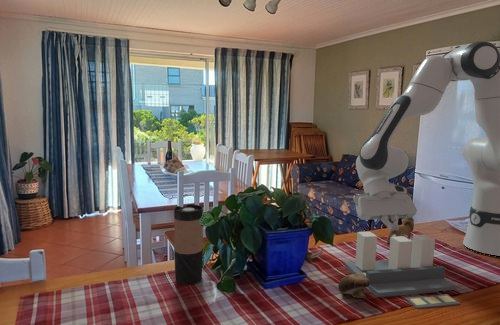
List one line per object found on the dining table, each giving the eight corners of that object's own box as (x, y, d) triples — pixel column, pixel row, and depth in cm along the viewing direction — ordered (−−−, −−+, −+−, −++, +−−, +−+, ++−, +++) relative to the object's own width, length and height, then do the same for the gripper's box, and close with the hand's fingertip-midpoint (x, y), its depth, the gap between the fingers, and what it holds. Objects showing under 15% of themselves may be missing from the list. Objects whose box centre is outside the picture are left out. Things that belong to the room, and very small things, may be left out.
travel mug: (197, 287, 90) (197, 212, 87) (169, 283, 91) (168, 210, 88) (206, 274, 97) (206, 205, 94) (181, 271, 98) (180, 203, 96)
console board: (412, 261, 108) (413, 249, 108) (456, 290, 91) (458, 275, 90) (344, 266, 104) (345, 253, 103) (377, 297, 86) (378, 281, 86)
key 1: (367, 263, 102) (369, 231, 101) (374, 269, 99) (377, 236, 97) (355, 264, 102) (357, 232, 100) (362, 270, 98) (364, 236, 96)
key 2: (422, 267, 101) (425, 234, 100) (431, 273, 97) (435, 239, 96) (410, 267, 100) (413, 234, 99) (419, 274, 96) (422, 239, 95)
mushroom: (378, 294, 82) (366, 268, 84) (346, 305, 82) (335, 279, 85) (373, 294, 89) (363, 270, 91) (344, 304, 89) (334, 280, 92)
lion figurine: (401, 235, 133) (403, 212, 132) (415, 239, 129) (417, 216, 128) (383, 244, 123) (385, 220, 122) (398, 248, 119) (400, 223, 118)
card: (446, 295, 88) (447, 293, 88) (460, 304, 84) (460, 302, 84) (405, 298, 86) (405, 297, 86) (416, 308, 82) (417, 307, 82)
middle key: (400, 269, 99) (403, 236, 98) (409, 275, 95) (412, 241, 94) (387, 270, 98) (390, 236, 97) (396, 276, 94) (399, 241, 93)
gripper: (355, 188, 115) (369, 226, 106) (409, 187, 119) (426, 223, 111) (348, 198, 120) (360, 235, 111) (400, 197, 124) (416, 232, 115)
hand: (394, 229), depth 111 cm, fingers closed
